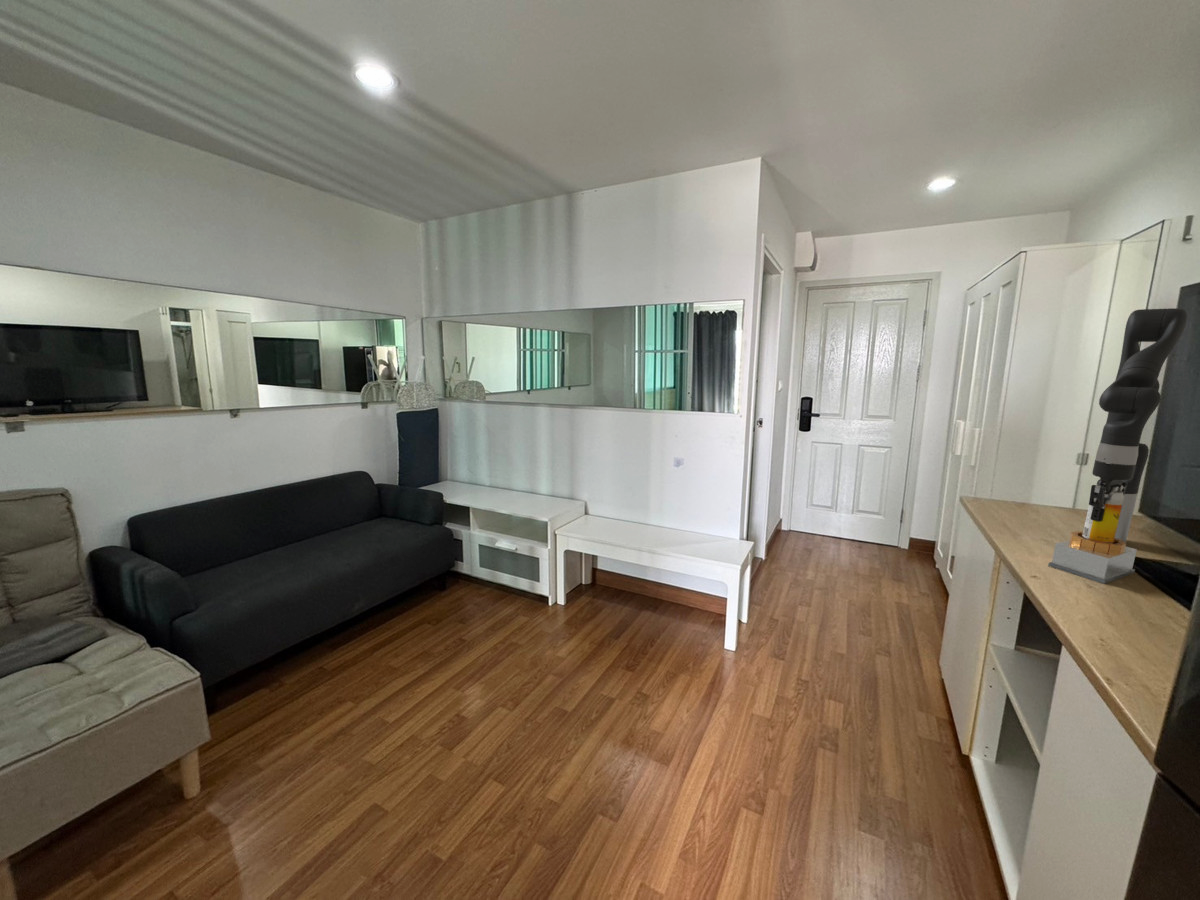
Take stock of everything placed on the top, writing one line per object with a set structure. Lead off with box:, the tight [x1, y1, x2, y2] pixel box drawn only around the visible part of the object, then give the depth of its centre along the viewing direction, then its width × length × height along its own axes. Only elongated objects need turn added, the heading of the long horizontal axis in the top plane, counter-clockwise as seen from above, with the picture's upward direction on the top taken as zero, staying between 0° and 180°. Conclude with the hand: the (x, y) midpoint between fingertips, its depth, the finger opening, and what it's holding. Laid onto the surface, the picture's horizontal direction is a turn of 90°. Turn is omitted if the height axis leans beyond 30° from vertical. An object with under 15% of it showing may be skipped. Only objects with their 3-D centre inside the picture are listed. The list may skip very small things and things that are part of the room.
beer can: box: [1082, 491, 1124, 543], centre depth 129 cm, size 6×6×15 cm
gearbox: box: [1047, 530, 1138, 585], centre depth 132 cm, size 21×12×10 cm, turn 113°
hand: (1102, 518), depth 129 cm, fingers closed on beer can, 6 cm apart
